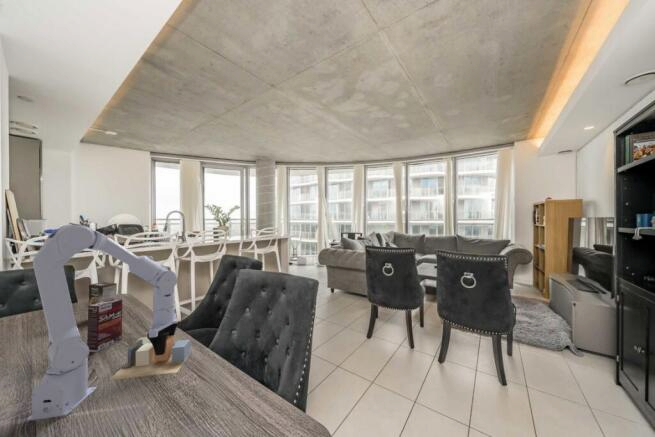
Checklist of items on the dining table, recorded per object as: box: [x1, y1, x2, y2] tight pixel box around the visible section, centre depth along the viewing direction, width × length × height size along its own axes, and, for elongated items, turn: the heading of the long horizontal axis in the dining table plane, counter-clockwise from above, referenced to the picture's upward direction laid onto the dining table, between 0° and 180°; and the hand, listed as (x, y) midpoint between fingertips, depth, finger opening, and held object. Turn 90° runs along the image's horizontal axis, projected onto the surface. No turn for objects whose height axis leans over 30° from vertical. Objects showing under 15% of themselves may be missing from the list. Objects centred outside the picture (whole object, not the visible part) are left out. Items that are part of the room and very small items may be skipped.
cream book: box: [136, 343, 154, 366], centre depth 78 cm, size 5×4×4 cm
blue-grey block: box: [172, 339, 191, 362], centre depth 80 cm, size 5×4×4 cm
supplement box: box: [86, 298, 123, 354], centre depth 89 cm, size 9×5×16 cm, turn 168°
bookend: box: [121, 339, 142, 369], centre depth 78 cm, size 6×2×6 cm, turn 11°
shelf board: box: [108, 350, 192, 381], centre depth 76 cm, size 12×18×1 cm
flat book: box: [136, 336, 151, 346], centre depth 91 cm, size 6×4×2 cm
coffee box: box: [88, 281, 118, 306], centre depth 116 cm, size 9×6×16 cm
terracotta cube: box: [154, 334, 175, 361], centre depth 79 cm, size 5×4×6 cm
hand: (164, 349), depth 79 cm, fingers closed on terracotta cube, 5 cm apart
